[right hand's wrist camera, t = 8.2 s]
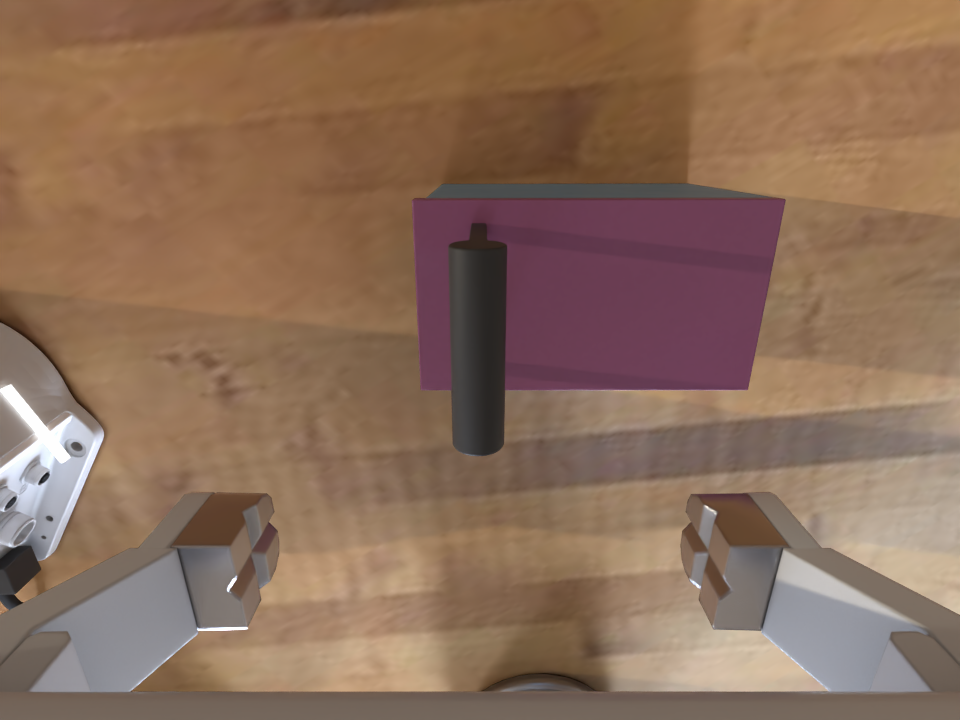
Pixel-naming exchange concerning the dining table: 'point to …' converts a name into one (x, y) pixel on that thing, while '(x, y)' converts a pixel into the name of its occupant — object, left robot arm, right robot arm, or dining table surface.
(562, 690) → the left robot arm
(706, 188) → the chest
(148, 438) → the dining table surface
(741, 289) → the lid
